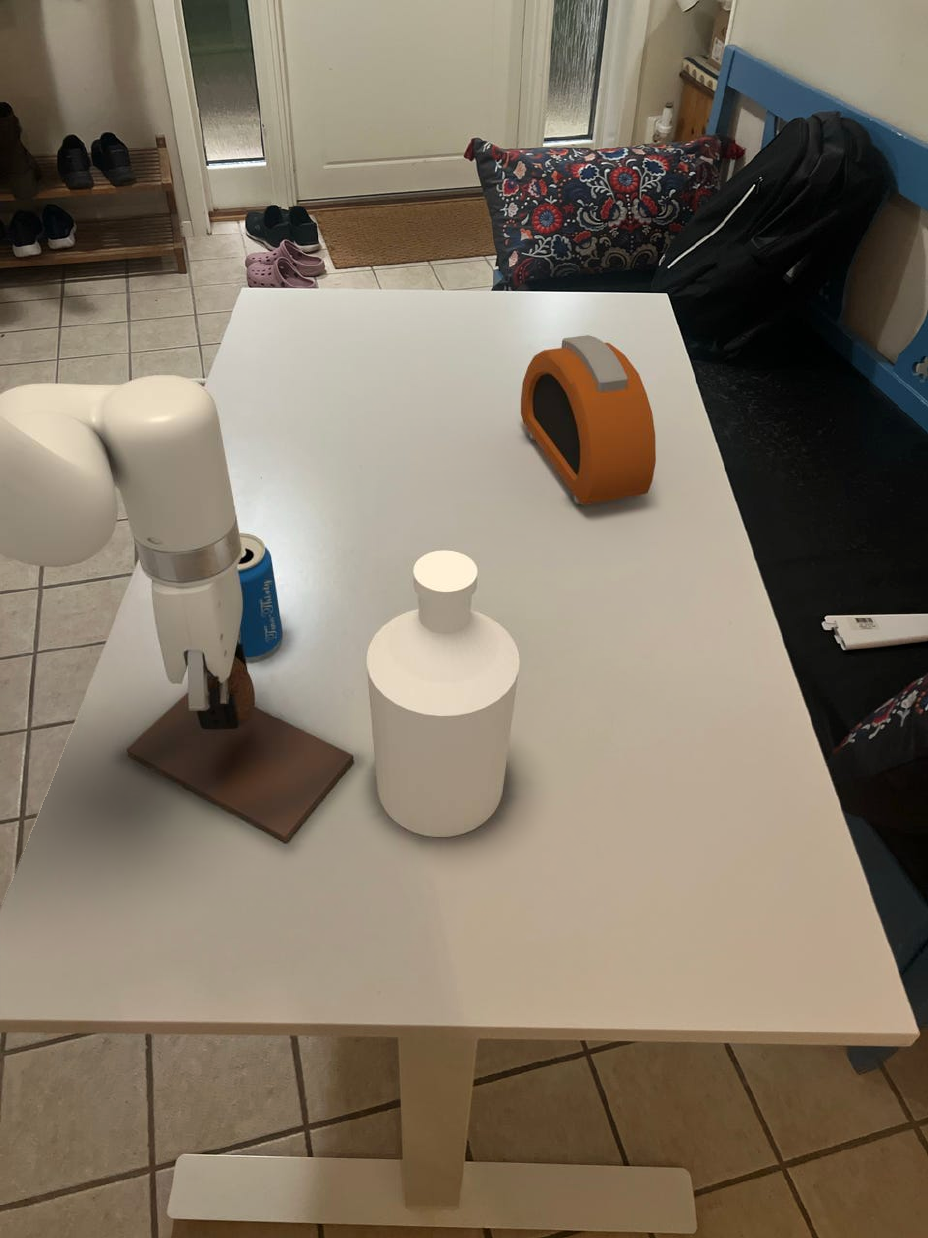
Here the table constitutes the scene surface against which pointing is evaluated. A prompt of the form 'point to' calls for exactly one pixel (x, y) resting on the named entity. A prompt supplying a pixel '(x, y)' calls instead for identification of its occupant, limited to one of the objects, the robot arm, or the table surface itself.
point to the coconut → (239, 690)
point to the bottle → (442, 703)
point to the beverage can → (258, 599)
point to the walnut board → (245, 765)
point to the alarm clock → (591, 419)
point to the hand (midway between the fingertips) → (225, 699)
